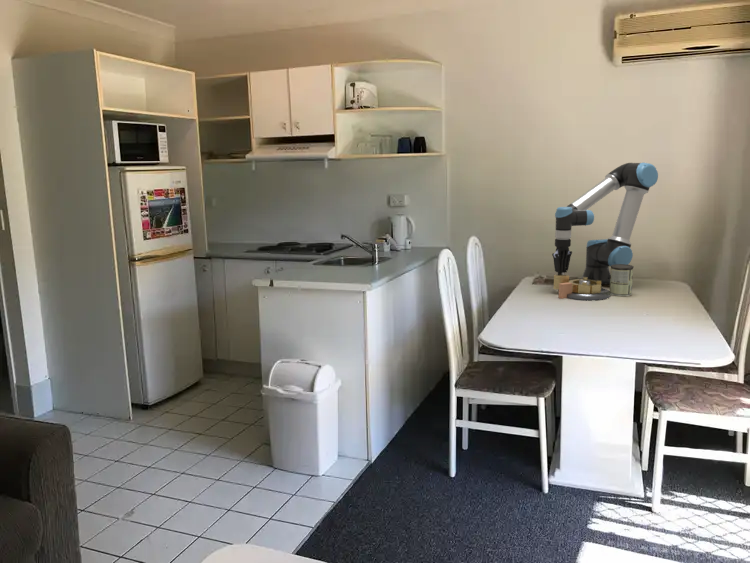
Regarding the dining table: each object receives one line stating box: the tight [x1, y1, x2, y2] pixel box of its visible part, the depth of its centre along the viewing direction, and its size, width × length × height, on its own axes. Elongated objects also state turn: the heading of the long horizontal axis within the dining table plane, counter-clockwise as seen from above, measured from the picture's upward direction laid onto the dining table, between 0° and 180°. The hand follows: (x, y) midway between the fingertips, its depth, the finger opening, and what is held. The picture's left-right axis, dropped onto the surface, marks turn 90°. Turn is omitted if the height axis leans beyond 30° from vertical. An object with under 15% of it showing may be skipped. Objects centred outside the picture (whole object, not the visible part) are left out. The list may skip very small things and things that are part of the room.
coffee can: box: [609, 264, 634, 297], centre depth 304 cm, size 10×10×14 cm
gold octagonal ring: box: [553, 273, 602, 294], centre depth 305 cm, size 22×15×7 cm
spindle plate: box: [566, 280, 611, 302], centre depth 304 cm, size 24×24×7 cm
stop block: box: [557, 282, 572, 300], centre depth 299 cm, size 6×2×7 cm, turn 114°
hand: (560, 285), depth 311 cm, fingers closed
